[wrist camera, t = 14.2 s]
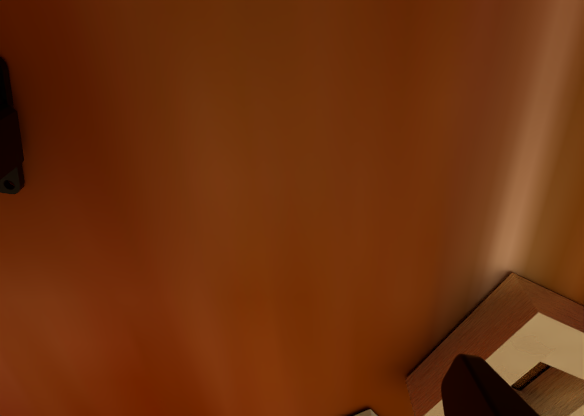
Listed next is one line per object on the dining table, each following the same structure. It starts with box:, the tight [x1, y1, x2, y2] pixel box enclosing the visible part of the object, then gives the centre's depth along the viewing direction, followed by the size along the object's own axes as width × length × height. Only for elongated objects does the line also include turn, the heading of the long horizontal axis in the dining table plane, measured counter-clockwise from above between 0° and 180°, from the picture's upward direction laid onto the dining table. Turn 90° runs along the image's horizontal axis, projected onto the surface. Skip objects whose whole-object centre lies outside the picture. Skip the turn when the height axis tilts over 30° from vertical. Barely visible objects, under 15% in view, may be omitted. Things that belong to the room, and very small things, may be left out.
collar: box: [405, 273, 584, 416], centre depth 26 cm, size 10×10×3 cm
